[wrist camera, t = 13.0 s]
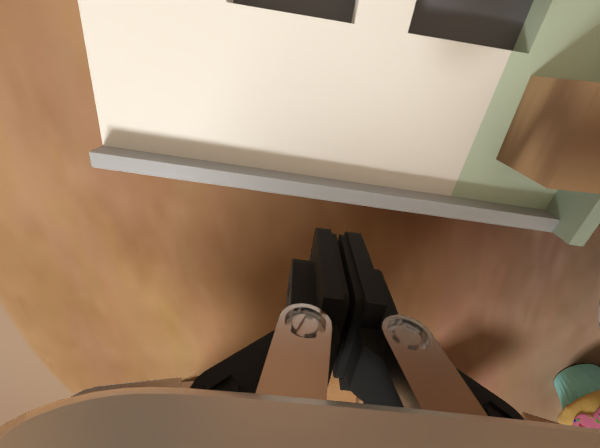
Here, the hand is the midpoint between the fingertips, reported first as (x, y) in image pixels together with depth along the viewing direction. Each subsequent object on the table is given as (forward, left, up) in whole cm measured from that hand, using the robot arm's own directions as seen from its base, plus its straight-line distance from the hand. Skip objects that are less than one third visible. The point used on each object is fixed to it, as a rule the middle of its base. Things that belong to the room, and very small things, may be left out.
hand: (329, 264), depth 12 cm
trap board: (+6, -1, -13) cm, 14 cm away
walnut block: (+5, -14, -11) cm, 18 cm away
